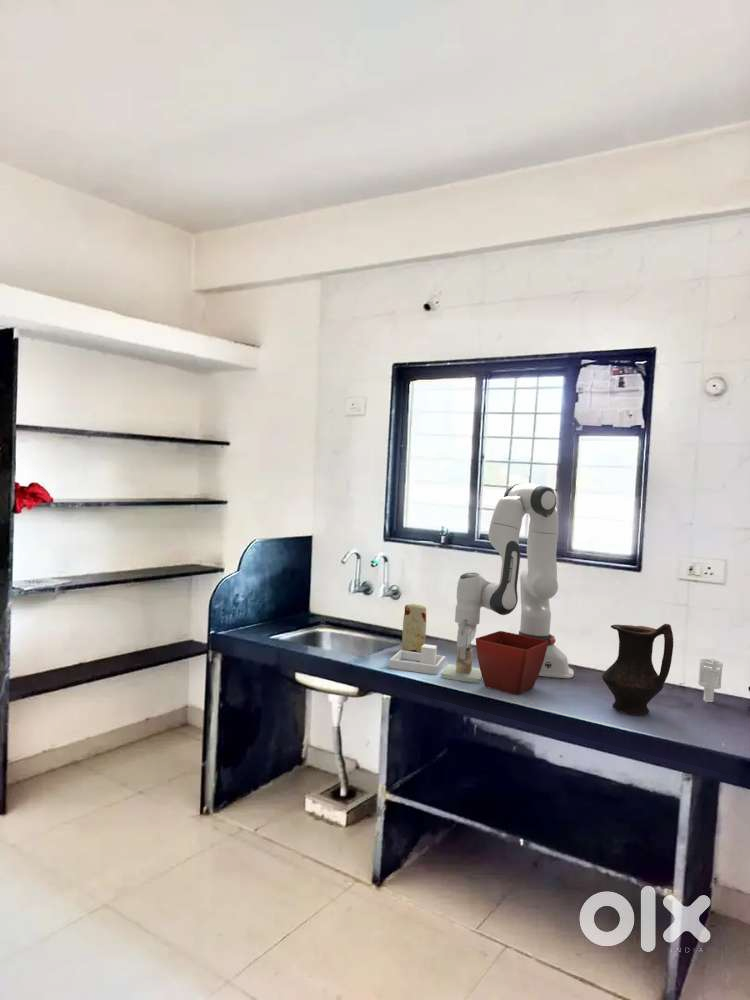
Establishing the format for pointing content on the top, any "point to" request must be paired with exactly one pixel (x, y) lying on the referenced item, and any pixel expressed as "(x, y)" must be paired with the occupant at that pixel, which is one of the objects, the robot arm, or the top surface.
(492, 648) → the plant pot
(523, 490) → the robot arm
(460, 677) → the sage board
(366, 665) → the top surface
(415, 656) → the shallow white tray
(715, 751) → the top surface
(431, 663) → the plain white box
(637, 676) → the jug
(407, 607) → the food model
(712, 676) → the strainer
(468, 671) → the labelled oak box
